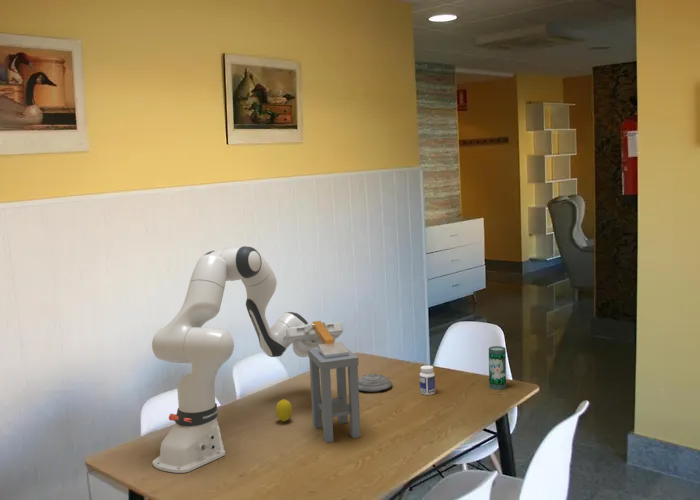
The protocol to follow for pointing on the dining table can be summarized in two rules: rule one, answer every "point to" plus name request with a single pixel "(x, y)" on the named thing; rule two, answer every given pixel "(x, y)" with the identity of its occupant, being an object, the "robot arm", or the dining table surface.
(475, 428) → the dining table surface
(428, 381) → the pill bottle
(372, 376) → the flying saucer
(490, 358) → the can
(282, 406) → the lemon
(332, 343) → the turner
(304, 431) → the dining table surface
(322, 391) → the stool
